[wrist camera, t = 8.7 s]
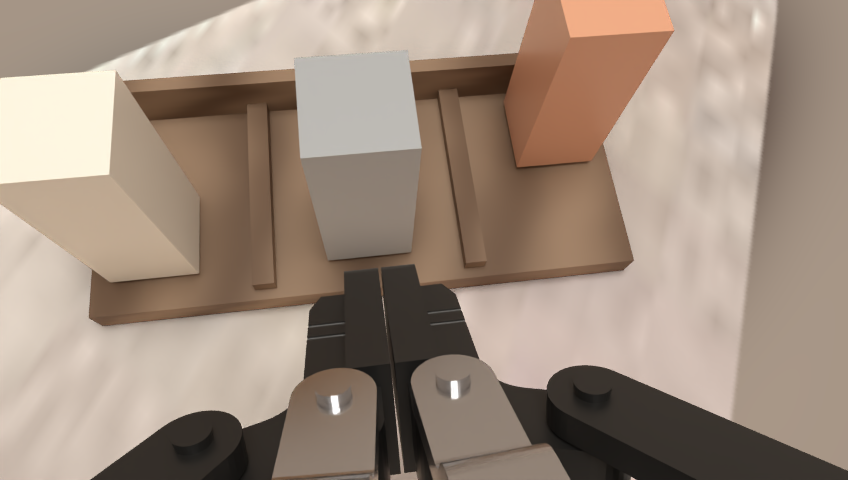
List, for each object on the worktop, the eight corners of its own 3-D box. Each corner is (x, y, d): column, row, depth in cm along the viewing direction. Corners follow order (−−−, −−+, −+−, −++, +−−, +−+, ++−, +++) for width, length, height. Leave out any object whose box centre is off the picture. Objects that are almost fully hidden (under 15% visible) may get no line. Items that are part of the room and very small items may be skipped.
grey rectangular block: (328, 260, 29) (300, 158, 20) (322, 185, 31) (294, 58, 21) (411, 252, 30) (421, 148, 20) (401, 178, 31) (407, 50, 22)
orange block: (516, 167, 32) (570, 37, 22) (503, 102, 33) (548, -46, 24) (591, 160, 32) (674, 30, 23) (574, 96, 34) (646, -51, 24)
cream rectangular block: (110, 282, 28) (-25, 185, 19) (115, 204, 30) (-9, 78, 20) (199, 273, 29) (109, 174, 19) (199, 196, 30) (115, 70, 21)
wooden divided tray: (102, 325, 29) (61, 303, 26) (115, 128, 33) (80, 83, 30) (623, 270, 32) (654, 242, 28) (577, 92, 36) (599, 47, 32)
